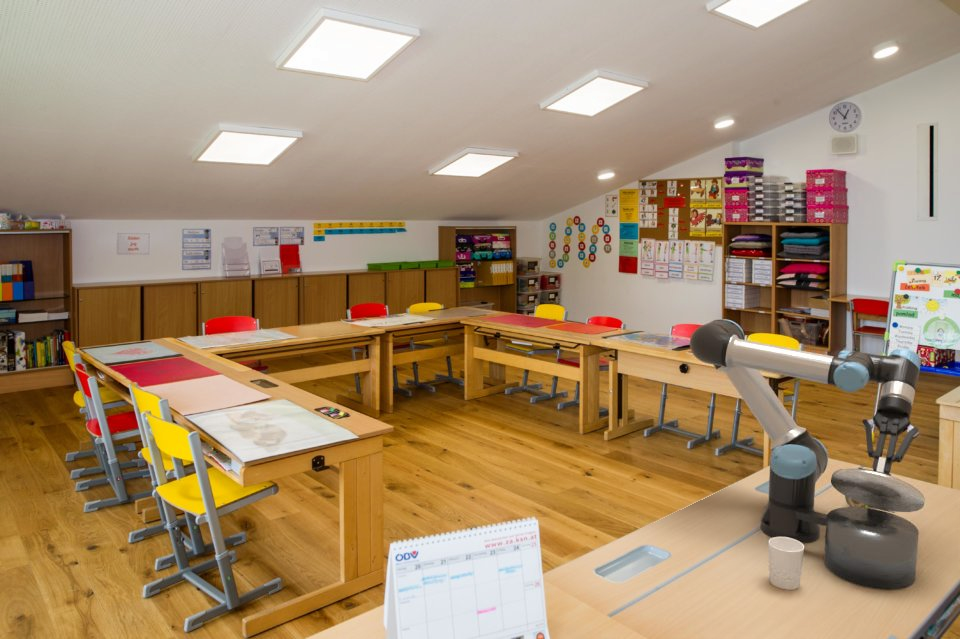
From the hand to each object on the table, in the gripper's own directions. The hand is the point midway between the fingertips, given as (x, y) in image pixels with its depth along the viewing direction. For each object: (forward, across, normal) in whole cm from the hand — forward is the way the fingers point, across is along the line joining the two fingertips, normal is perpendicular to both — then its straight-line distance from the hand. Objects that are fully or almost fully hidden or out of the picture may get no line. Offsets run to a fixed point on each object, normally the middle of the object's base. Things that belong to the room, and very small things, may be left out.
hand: (878, 483), depth 176 cm
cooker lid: (+2, +1, -3) cm, 4 cm away
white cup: (+31, +15, 0) cm, 34 cm away
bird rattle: (-10, +11, -42) cm, 45 cm away
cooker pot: (+17, +4, -14) cm, 23 cm away
